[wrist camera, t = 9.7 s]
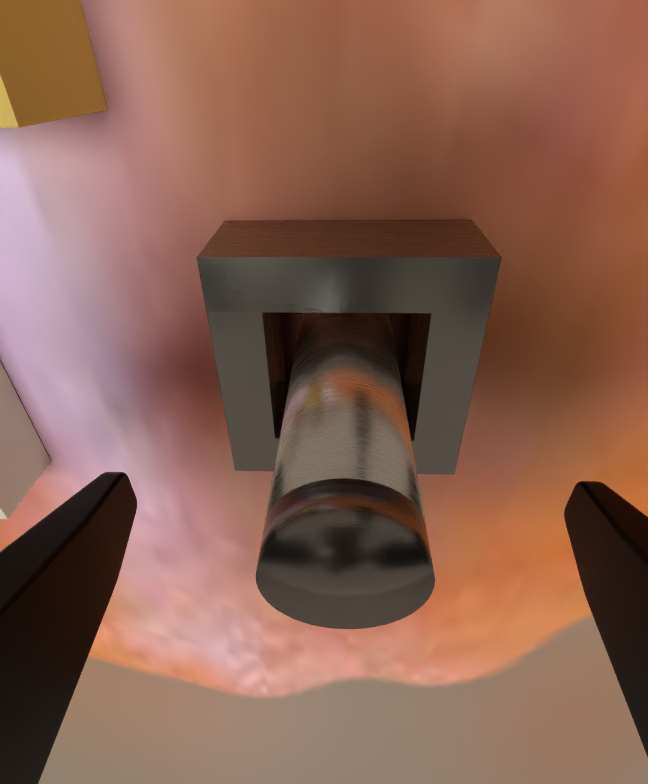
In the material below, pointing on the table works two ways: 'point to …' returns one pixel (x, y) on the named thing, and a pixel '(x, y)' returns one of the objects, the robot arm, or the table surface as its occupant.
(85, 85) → the block
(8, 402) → the tray
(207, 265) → the pin bracket
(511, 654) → the table surface
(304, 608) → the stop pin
